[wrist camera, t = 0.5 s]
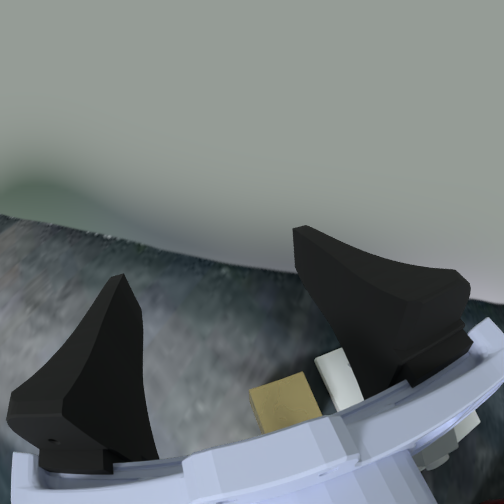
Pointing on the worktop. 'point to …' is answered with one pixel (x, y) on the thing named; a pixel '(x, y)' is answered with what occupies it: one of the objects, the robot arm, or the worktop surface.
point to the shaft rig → (348, 394)
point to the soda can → (494, 501)
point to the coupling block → (283, 403)
